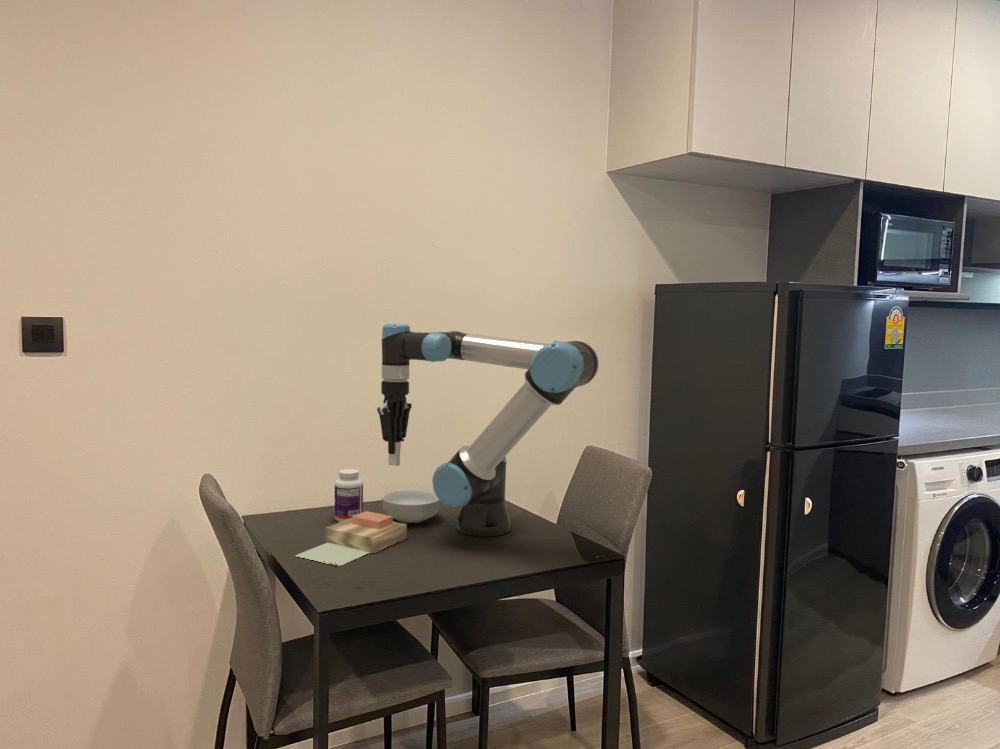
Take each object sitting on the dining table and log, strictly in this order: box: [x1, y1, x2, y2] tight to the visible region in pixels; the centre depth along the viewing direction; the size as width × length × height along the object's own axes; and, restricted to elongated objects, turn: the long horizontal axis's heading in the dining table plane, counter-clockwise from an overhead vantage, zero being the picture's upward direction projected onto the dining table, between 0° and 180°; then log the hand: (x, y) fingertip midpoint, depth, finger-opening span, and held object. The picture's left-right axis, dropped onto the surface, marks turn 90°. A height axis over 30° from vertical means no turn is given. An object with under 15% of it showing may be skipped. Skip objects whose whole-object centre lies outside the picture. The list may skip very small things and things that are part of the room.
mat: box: [294, 542, 372, 566], centre depth 180 cm, size 14×12×1 cm
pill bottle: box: [334, 468, 364, 523], centre depth 209 cm, size 8×8×14 cm
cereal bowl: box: [381, 488, 442, 524], centre depth 211 cm, size 17×17×7 cm
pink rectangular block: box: [352, 510, 394, 529], centre depth 193 cm, size 9×6×2 cm, turn 62°
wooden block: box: [324, 518, 408, 554], centre depth 191 cm, size 16×14×4 cm
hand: (394, 464), depth 201 cm, fingers closed
